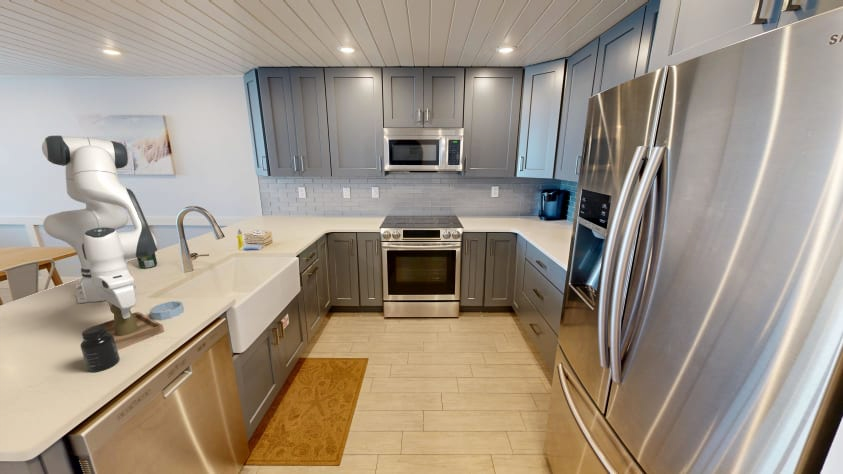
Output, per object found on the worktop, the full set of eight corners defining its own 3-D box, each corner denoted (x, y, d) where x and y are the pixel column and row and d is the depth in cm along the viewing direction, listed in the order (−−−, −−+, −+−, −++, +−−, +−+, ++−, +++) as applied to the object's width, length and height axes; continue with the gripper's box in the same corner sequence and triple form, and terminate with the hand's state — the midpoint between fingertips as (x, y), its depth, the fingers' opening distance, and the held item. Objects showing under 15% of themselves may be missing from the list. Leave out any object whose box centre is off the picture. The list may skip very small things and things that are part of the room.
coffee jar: (139, 265, 176) (132, 233, 171) (157, 262, 181) (150, 231, 176) (138, 270, 169) (131, 237, 164) (157, 267, 174) (150, 235, 169)
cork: (124, 337, 105) (116, 307, 102) (110, 334, 106) (102, 305, 103) (143, 327, 111) (136, 299, 108) (129, 325, 112) (122, 298, 109)
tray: (88, 335, 107) (86, 328, 107) (139, 317, 119) (137, 311, 119) (111, 352, 98) (109, 345, 97) (164, 331, 110) (162, 325, 109)
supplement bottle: (102, 358, 95) (92, 323, 92) (126, 357, 96) (117, 322, 93) (80, 373, 88) (69, 336, 85) (106, 372, 89) (95, 335, 86)
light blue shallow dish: (147, 316, 120) (145, 309, 120) (176, 305, 129) (175, 299, 128) (159, 322, 116) (157, 315, 115) (188, 311, 124) (187, 304, 123)
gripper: (86, 273, 105) (96, 309, 109) (110, 286, 96) (120, 325, 99) (111, 267, 111) (120, 303, 114) (136, 279, 101) (144, 317, 105)
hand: (120, 313), depth 107 cm, fingers open, 8 cm apart
